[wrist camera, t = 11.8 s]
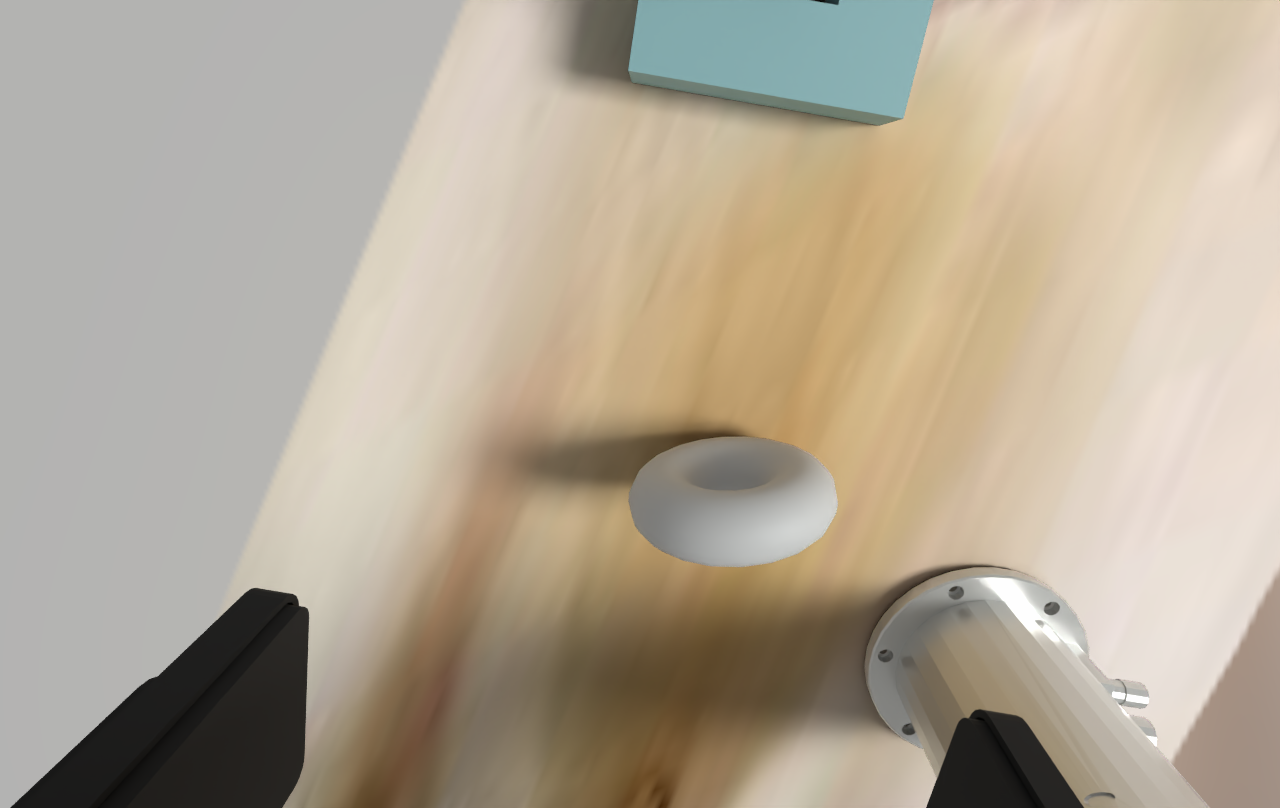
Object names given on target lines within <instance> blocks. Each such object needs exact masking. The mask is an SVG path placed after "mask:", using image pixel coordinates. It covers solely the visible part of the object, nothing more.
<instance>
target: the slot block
mask: <svg viewBox="0 0 1280 808" xmlns="http://www.w3.org/2000/svg"><path fill="white" fill-rule="evenodd" d="M933 1H934V0H825V3H823V2H817V1H811V0H638V6H637V13H636V20H635V27H634V34H633V41H632V48H631V54H630V61H629V68H628V72H629V75H630V78H631V81H632V83H638V84H644V85H650V86H655V87H661V88H667V89H673V90H678V91H684V92H690V93H695V94H701V95H707V96H713V97H718V98H724V99H730V100H736V101H741V102H747V103H753V104H759V105H764V106H770V107H776V108H782V109H787V110H793V111H799V112H805V113H810V114H816V115H822V116H828V117H833V118H839V119H845V120H851V121H856V122H862V123H868V124H874V125H879V126H880V125H883V124H886V123H890V122H893V121H897V120H900V119H903V118H904V114H905V110H906V106H907V102H908V98H909V94H910V90H911V87H912V83H913V79H914V75H915V71H916V67H917V63H918V59H919V55H920V52H921V48H922V44H923V40H924V36H925V32H926V28H927V24H928V20H929V16H930V13H931V9H932V5H933Z"/></svg>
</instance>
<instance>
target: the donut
mask: <svg viewBox="0 0 1280 808" xmlns="http://www.w3.org/2000/svg"><path fill="white" fill-rule="evenodd" d="M629 505H630V509H631V513H632V517H633V521H634V524H635V526H636V528H637V529H638V531H639V532H640V533H641V534H642V535H643V536H644V537H645V538H646V539H647V540H648V541H649V542H650V543H651V544H652V545H653V546H654V547H656V548H658V549H659V550H661V551H663V552H665V553H667V554H670V555H672V556H674V557H676V558H678V559H681V560H683V561H688V562H693V563H698V564H703V565H707V566H723V567H745V566H752V565H759V564H766V563H773V562H775V561H778V560H781V559H784V558H787V557H790V556H793V555H796V554H798V553H799V552H801V551H802V550H804V549H805V548H807V547H808V546H809V545H811V544H812V543H814V542H815V541H817V540H818V539H820V538H821V537H822V536H823V535H824V533H825V532H826V530H827V528H828V527H829V525H830V523H831V521H832V520H833V518H834V516H835V514H836V511H837V506H838V501H837V495H836V489H835V484H834V479H833V477H832V475H831V474H830V472H829V470H828V469H827V468H826V467H825V466H824V465H823V464H822V463H821V462H820V461H819V460H818V459H817V458H815V457H814V456H813V455H812V454H810V453H808V452H806V451H804V450H802V449H800V448H798V447H796V446H793V445H790V444H786V443H782V442H778V441H775V440H771V439H765V438H755V437H717V438H709V439H701V440H697V441H693V442H689V443H685V444H681V445H679V446H676V447H674V448H671V449H669V450H667V451H665V452H662V453H660V454H658V455H657V456H655V457H654V458H653V459H652V460H650V461H649V462H648V463H647V464H645V465H644V466H643V467H642V468H641V469H640V470H639V472H638V474H637V476H636V478H635V481H634V483H633V485H632V487H631V489H630V492H629Z"/></svg>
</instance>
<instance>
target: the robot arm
mask: <svg viewBox="0 0 1280 808" xmlns="http://www.w3.org/2000/svg"><path fill="white" fill-rule="evenodd" d="M308 632H309V612H308V609H307V608H305V607H301V606H299V602H298V599H297V596H295V595H294V594H289V593H283V592H277V591H271V590H265V589H259V588H253V589H250V590H249V591H247V592H246V593H245V594H244V595H243V596H242V597H241V598H239V599H238V600H237V601H236V602H235V603H234V604H233V605H232V606H231V607H230V608H229V609H228V610H227V611H226V612H225V613H224V614H223V615H222V616H221V617H220V618H219V619H218V620H216V621H215V622H214V623H213V624H212V625H211V626H210V627H209V628H208V629H207V630H206V631H205V632H204V633H203V634H202V635H201V636H200V637H199V638H198V639H197V640H196V641H194V642H193V643H192V644H191V645H190V646H189V647H188V648H187V649H186V650H185V651H184V652H183V653H182V654H181V655H180V656H179V657H178V658H177V659H176V660H175V661H174V662H173V663H171V664H170V665H169V666H168V667H167V668H166V669H165V670H164V671H163V672H162V673H161V674H160V675H159V676H158V677H155V678H151V679H149V680H148V681H146V682H145V683H144V684H142V685H141V686H140V687H139V688H137V689H136V690H135V691H134V692H133V693H132V694H131V695H130V696H129V697H128V698H127V699H125V701H123V702H122V703H121V704H120V705H119V706H118V707H117V708H116V709H115V710H114V711H113V712H112V713H111V714H110V715H108V717H106V718H105V719H104V720H103V721H102V722H101V723H100V724H99V725H98V726H97V727H96V728H95V729H94V730H93V731H92V732H90V733H89V734H88V735H87V736H86V737H85V738H84V739H83V740H82V741H81V742H80V743H79V744H78V745H77V746H75V747H74V748H73V749H72V750H71V751H70V752H69V753H68V754H67V755H66V756H65V757H64V758H63V759H62V760H61V761H60V762H58V763H57V764H56V765H55V766H54V767H53V768H52V769H51V770H50V771H49V772H48V773H47V774H46V775H45V776H44V777H43V778H41V779H40V780H39V781H38V782H37V783H36V784H35V785H34V786H33V787H32V788H31V789H30V790H29V791H28V792H27V793H26V794H25V795H23V796H22V797H21V798H20V799H19V800H18V801H17V802H16V803H15V804H14V805H13V806H12V807H11V808H282V807H283V805H284V804H285V802H286V801H287V799H288V797H289V796H290V794H291V793H292V791H293V789H294V787H295V786H296V784H297V782H298V779H299V777H300V774H301V771H302V768H303V763H304V754H305V723H306V693H307V662H308ZM864 667H865V678H866V684H867V687H868V690H869V693H870V696H871V698H872V701H873V703H874V705H875V707H876V709H877V711H878V713H879V715H880V716H881V718H882V719H883V720H884V721H885V723H886V724H887V725H888V726H889V728H890V729H892V730H893V731H894V732H895V733H896V734H897V735H898V736H900V737H901V738H902V739H904V740H906V741H908V742H909V743H911V744H913V745H915V746H917V747H919V748H921V749H924V751H925V754H926V756H927V758H928V760H929V762H930V764H931V767H932V769H933V771H934V773H935V775H936V778H937V780H936V783H935V786H934V788H933V791H932V794H931V796H930V799H929V802H928V804H927V807H926V808H1210V807H1209V806H1208V805H1207V804H1206V803H1205V801H1204V800H1203V799H1202V798H1201V797H1200V796H1199V795H1198V794H1197V792H1196V791H1195V790H1194V789H1193V788H1192V787H1191V786H1190V784H1189V783H1188V782H1187V781H1186V780H1185V779H1184V778H1183V777H1182V775H1181V774H1180V773H1179V772H1178V771H1177V770H1176V769H1175V767H1174V766H1173V765H1172V764H1171V763H1170V762H1169V761H1168V759H1167V758H1166V757H1165V756H1164V755H1163V754H1162V753H1161V751H1160V750H1159V749H1158V748H1157V747H1156V742H1157V736H1156V731H1155V728H1154V726H1153V725H1152V723H1151V722H1150V721H1149V720H1148V719H1146V718H1145V717H1140V716H1134V715H1128V714H1127V713H1126V712H1125V711H1124V709H1123V708H1122V707H1121V706H1127V707H1134V708H1145V707H1146V706H1147V705H1148V701H1149V694H1148V690H1147V689H1146V687H1145V685H1143V684H1141V683H1140V682H1134V681H1127V680H1121V679H1115V680H1114V679H1108V678H1107V677H1106V676H1105V675H1104V674H1103V673H1102V672H1101V670H1100V669H1099V668H1098V667H1097V666H1096V665H1095V664H1094V663H1093V662H1092V660H1091V659H1090V658H1089V645H1088V641H1087V636H1086V632H1085V629H1084V627H1083V625H1082V623H1081V622H1080V620H1079V618H1078V616H1077V614H1076V613H1075V612H1074V611H1073V610H1072V608H1071V607H1070V606H1069V605H1068V604H1067V602H1066V601H1065V600H1064V599H1063V598H1061V597H1060V596H1059V595H1058V594H1057V593H1056V592H1055V591H1054V590H1053V589H1052V588H1051V587H1049V586H1048V585H1046V584H1044V583H1043V582H1041V581H1039V580H1038V579H1036V578H1034V577H1031V576H1029V575H1026V574H1023V573H1020V572H1017V571H1014V570H1008V569H1002V568H996V567H977V568H968V569H962V570H956V571H951V572H948V573H945V574H942V575H939V576H936V577H933V578H931V579H929V580H927V581H925V582H923V583H921V584H920V585H918V586H916V587H914V588H912V589H911V590H910V591H908V592H907V593H906V594H904V595H903V596H902V597H900V598H899V599H898V600H897V601H896V602H895V603H894V604H893V605H892V606H891V607H890V608H889V609H888V610H887V611H886V612H885V614H884V615H883V616H882V617H881V619H880V621H879V622H878V624H877V626H876V627H875V629H874V630H873V632H872V635H871V638H870V641H869V643H868V646H867V650H866V657H865V664H864ZM1120 705H1121V706H1120Z"/></svg>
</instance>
